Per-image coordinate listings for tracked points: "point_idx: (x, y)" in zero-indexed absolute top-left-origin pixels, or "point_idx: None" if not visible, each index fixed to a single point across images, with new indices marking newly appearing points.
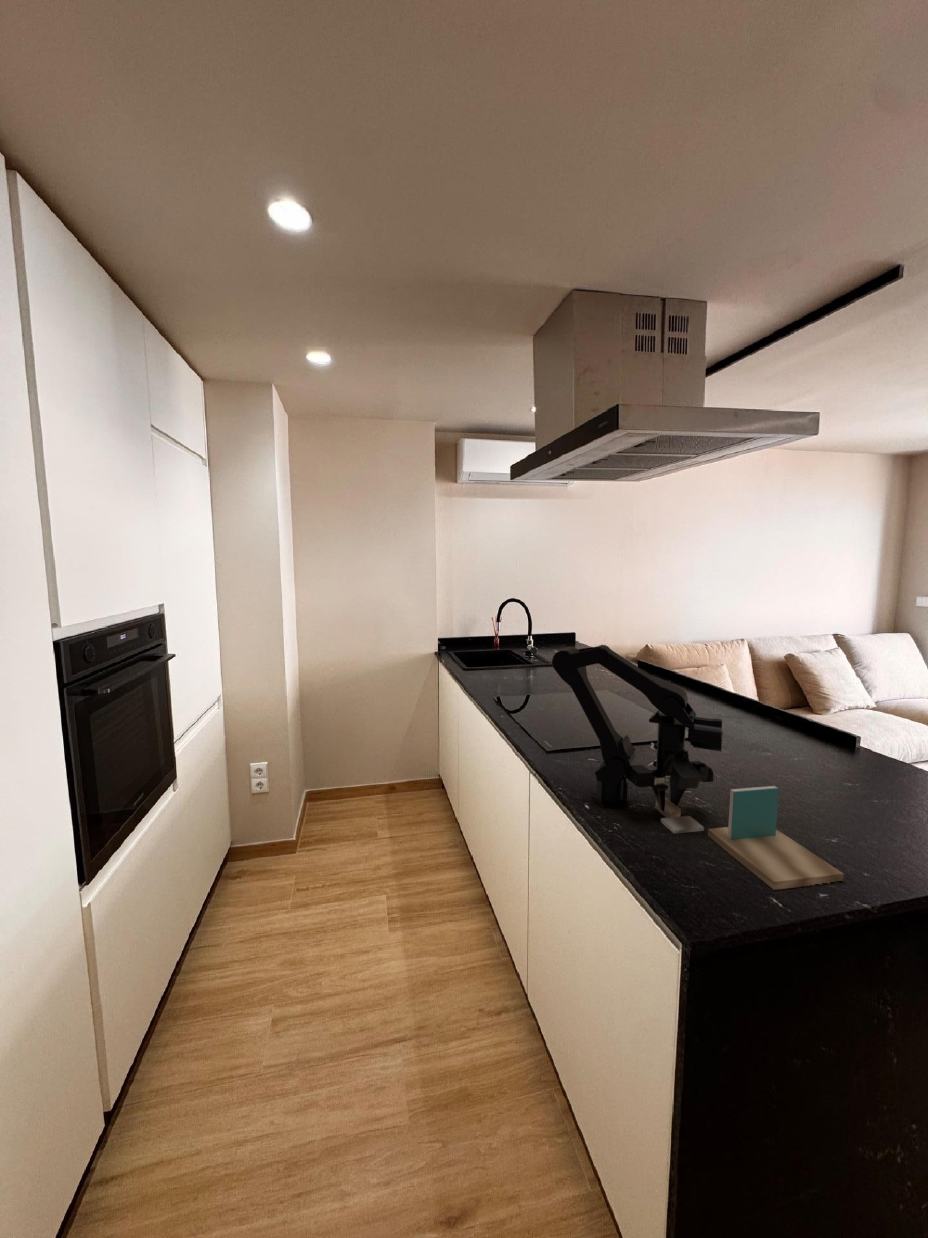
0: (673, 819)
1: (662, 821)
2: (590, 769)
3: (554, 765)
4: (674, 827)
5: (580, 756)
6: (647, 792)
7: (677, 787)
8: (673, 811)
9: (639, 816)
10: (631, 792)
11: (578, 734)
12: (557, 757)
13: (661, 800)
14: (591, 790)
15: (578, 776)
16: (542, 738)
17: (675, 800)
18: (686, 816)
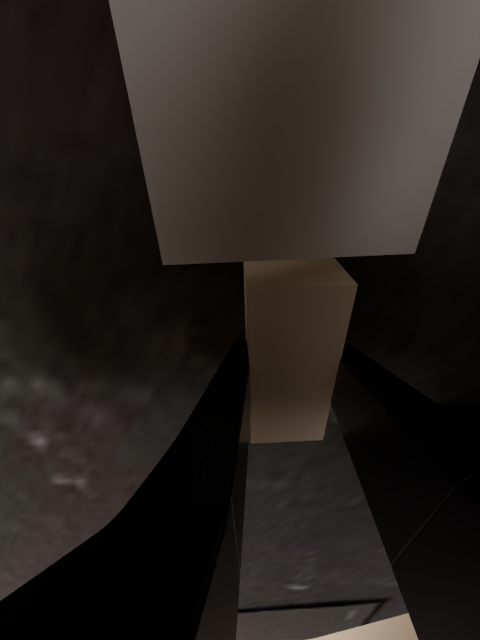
0: (333, 222)
1: (415, 225)
2: (341, 564)
3: None
4: (443, 56)
5: (316, 593)
6: (249, 482)
7: (229, 548)
8: (321, 280)
9: (465, 322)
10: (314, 484)
11: (254, 630)
12: (379, 591)
13: (413, 390)
14: None
15: None
16: (344, 622)
17: (247, 392)
18: (194, 258)
